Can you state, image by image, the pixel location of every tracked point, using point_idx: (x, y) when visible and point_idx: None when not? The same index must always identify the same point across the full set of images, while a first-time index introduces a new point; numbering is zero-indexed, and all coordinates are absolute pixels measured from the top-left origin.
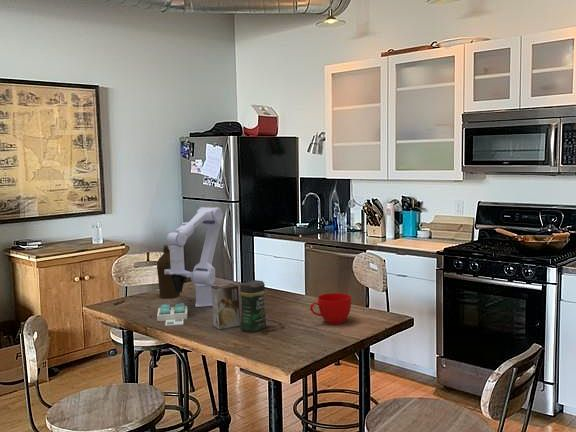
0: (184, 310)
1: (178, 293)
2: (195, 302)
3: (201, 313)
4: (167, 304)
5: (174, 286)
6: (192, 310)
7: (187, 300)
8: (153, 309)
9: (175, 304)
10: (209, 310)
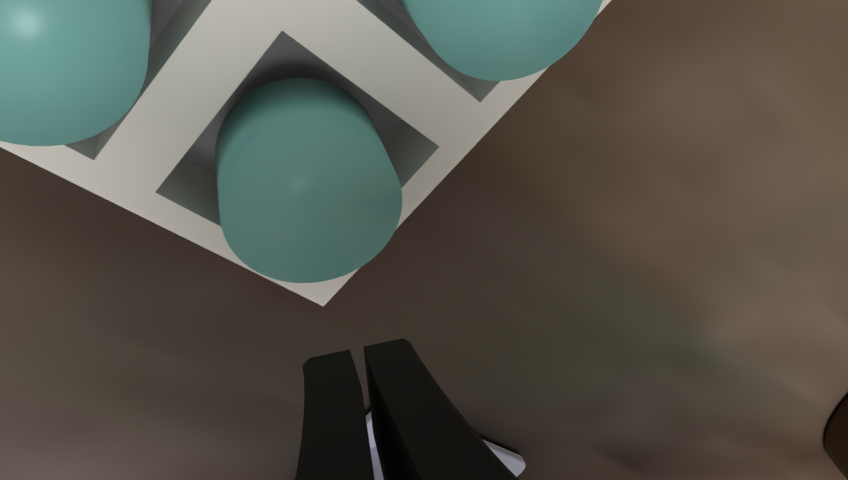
0: (104, 145)
1: (843, 464)
2: (509, 457)
3: (46, 323)
4: (509, 47)
5: (471, 462)
6: (303, 316)
7: (668, 441)
8: (839, 23)
9: (359, 146)
10: (112, 439)
